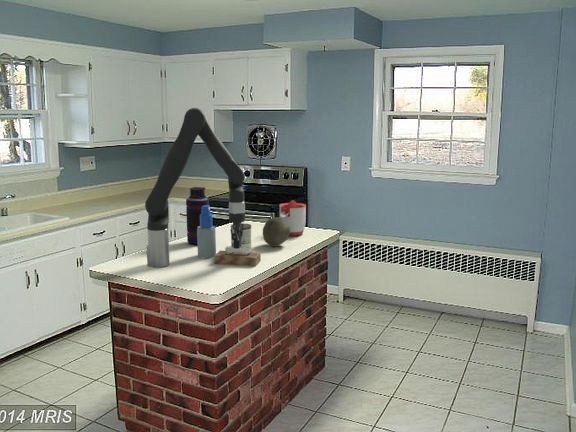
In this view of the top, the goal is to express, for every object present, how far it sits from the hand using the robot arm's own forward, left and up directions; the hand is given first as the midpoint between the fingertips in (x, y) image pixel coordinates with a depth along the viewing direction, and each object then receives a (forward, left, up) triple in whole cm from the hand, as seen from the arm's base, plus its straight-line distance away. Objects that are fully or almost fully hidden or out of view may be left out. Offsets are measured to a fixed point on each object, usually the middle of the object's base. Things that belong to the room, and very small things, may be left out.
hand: (237, 247), depth 257 cm
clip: (0, 0, -7) cm, 7 cm away
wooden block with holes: (0, 0, -7) cm, 7 cm away
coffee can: (-3, +17, -8) cm, 19 cm away
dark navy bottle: (-31, +33, -8) cm, 46 cm away
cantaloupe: (+11, +35, -8) cm, 37 cm away
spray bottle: (-18, +8, -8) cm, 21 cm away
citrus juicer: (+14, +63, -8) cm, 65 cm away
